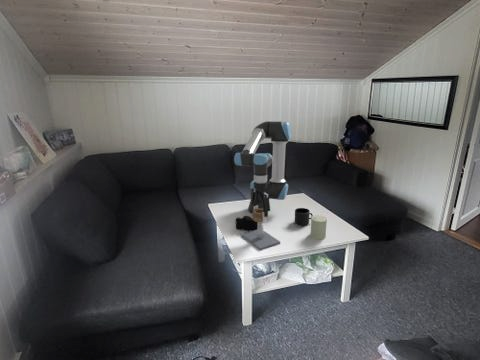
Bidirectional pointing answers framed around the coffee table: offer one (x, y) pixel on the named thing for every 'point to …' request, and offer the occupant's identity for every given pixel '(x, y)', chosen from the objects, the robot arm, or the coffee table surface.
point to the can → (318, 227)
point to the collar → (258, 215)
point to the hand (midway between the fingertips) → (260, 218)
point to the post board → (262, 241)
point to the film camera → (246, 224)
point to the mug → (302, 216)
